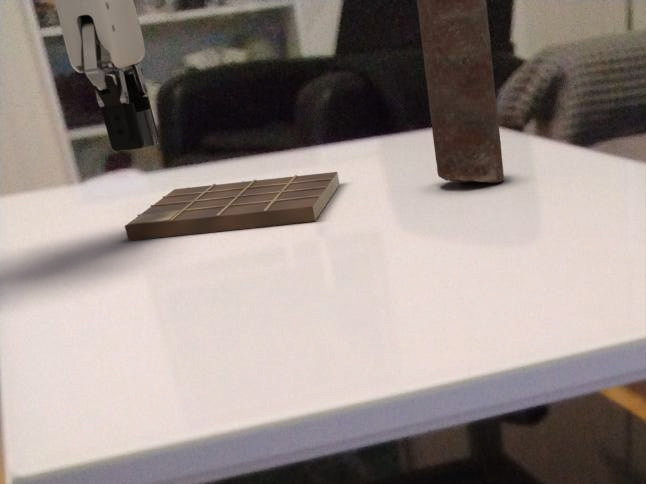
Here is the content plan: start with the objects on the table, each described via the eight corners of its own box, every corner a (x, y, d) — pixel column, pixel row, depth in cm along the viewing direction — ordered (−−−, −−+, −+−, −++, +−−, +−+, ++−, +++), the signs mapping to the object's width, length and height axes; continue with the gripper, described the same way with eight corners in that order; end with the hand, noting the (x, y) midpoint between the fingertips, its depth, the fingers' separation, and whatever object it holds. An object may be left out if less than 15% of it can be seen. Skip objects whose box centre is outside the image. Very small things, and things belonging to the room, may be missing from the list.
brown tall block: (454, 193, 111) (431, -25, 100) (426, 185, 116) (401, -22, 105) (515, 181, 113) (500, -34, 102) (485, 174, 119) (467, -31, 108)
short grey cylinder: (109, 152, 103) (100, 117, 101) (123, 145, 107) (113, 111, 105) (152, 147, 103) (143, 112, 101) (164, 140, 106) (155, 106, 105)
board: (128, 240, 107) (123, 224, 106) (177, 202, 124) (173, 188, 123) (315, 221, 106) (312, 205, 105) (339, 185, 123) (337, 170, 122)
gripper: (70, -66, 102) (125, 136, 112) (3, -67, 88) (73, 163, 98) (143, -75, 101) (192, 128, 111) (87, -78, 87) (149, 155, 97)
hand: (135, 142), depth 104 cm, fingers closed on short grey cylinder, 4 cm apart
